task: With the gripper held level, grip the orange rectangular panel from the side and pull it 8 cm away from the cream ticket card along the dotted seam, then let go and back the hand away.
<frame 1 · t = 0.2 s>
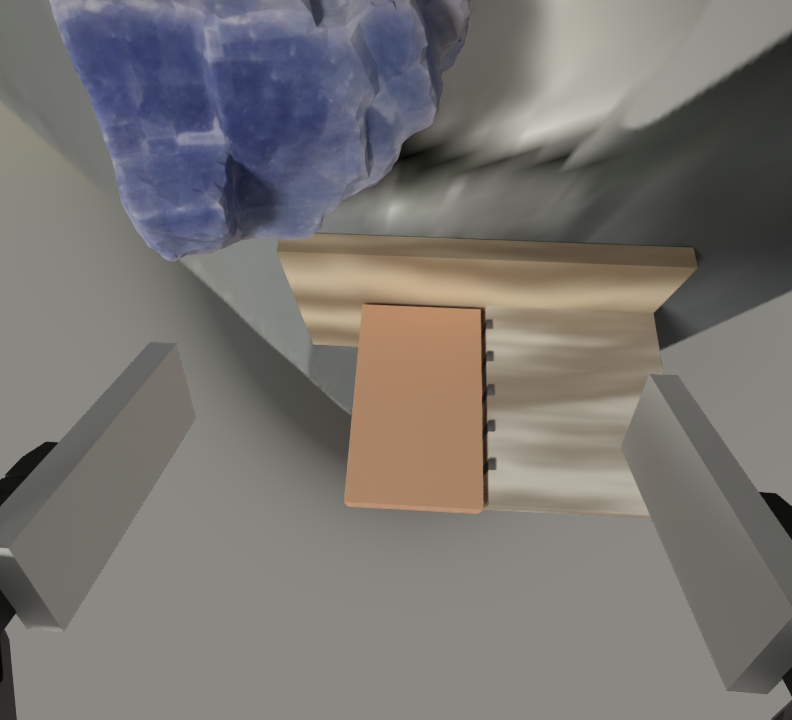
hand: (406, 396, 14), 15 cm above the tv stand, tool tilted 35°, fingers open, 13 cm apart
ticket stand: (470, 295, 38), on the tv stand
orange rectangular panel: (417, 403, 34), point 9 cm above the tv stand, slide at 0.0 cm
mineral: (279, 20, 20), on the tv stand
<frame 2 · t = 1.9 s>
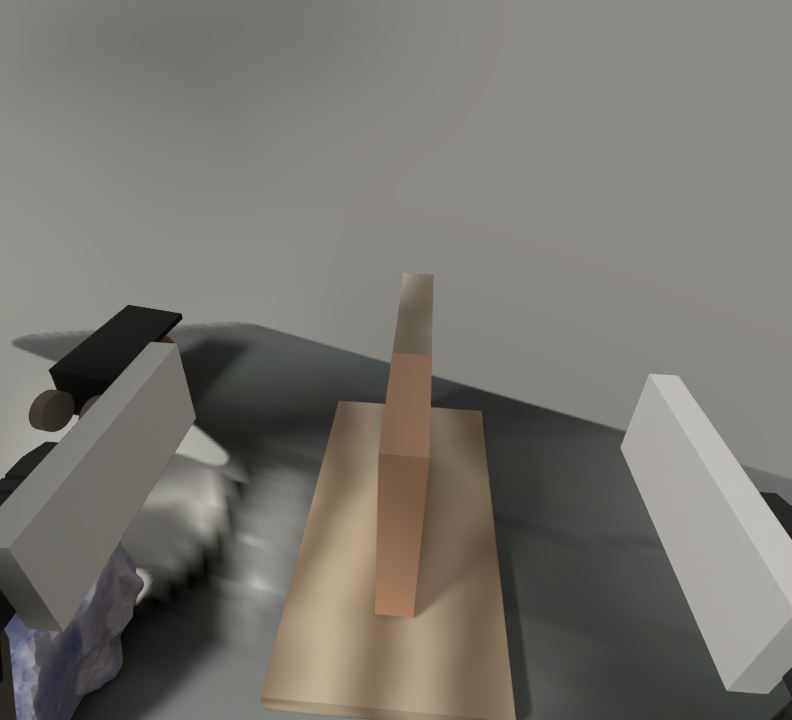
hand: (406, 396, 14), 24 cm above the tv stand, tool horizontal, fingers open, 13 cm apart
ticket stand: (400, 526, 39), on the tv stand
orange rectangular panel: (402, 486, 31), point 9 cm above the tv stand, slide at 0.0 cm
figurine character: (130, 406, 50), on the tv stand
mineral: (63, 642, 31), on the tv stand
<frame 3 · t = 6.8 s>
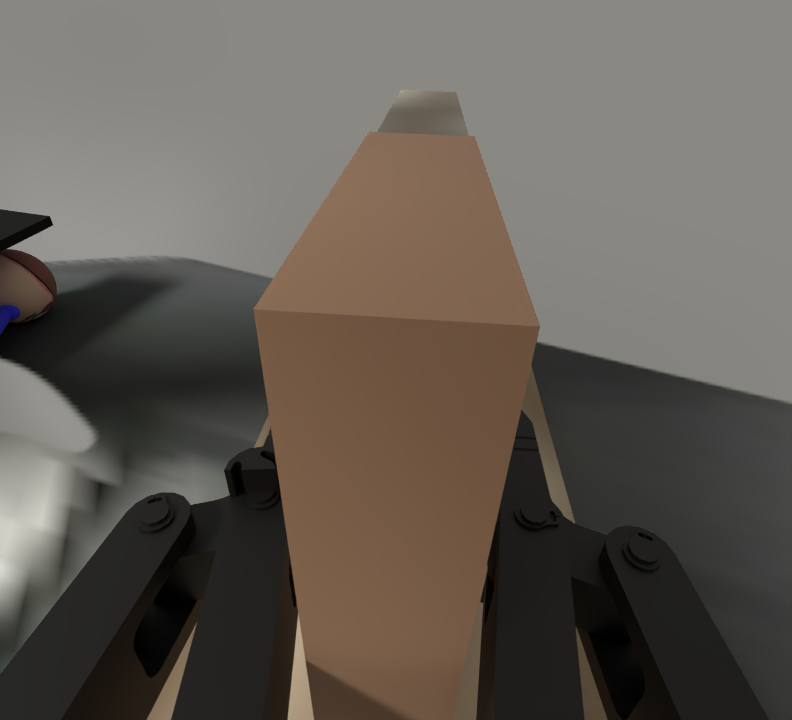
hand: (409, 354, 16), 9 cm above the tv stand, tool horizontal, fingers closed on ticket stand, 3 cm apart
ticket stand: (397, 568, 20), on the tv stand
orange rectangular panel: (399, 489, 12), point 9 cm above the tv stand, slide at 0.0 cm
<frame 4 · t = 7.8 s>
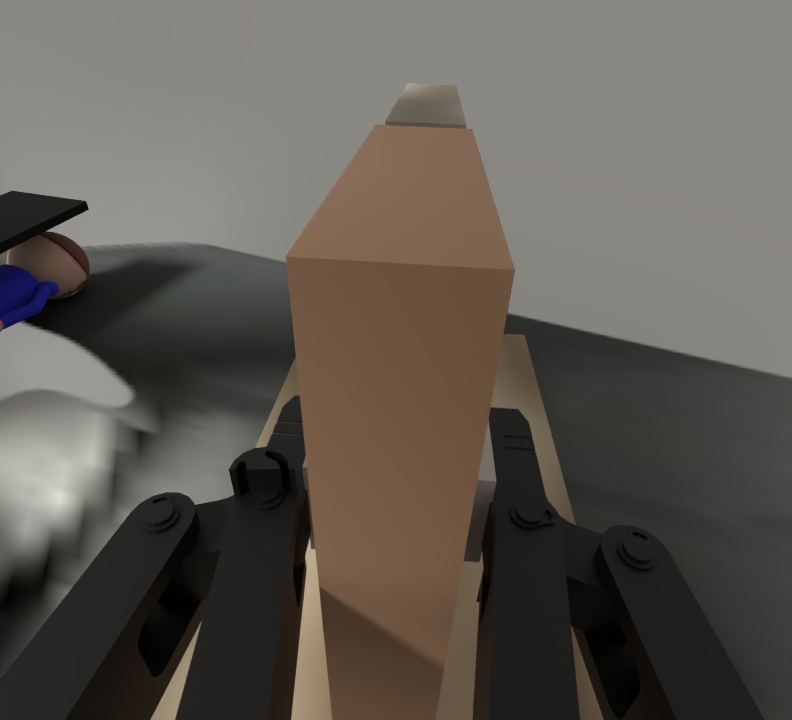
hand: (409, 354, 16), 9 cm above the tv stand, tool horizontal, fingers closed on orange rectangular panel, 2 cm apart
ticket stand: (403, 499, 23), on the tv stand
orange rectangular panel: (401, 453, 13), point 9 cm above the tv stand, slide at 2.3 cm, touching gripper
figurine character: (7, 332, 34), on the tv stand
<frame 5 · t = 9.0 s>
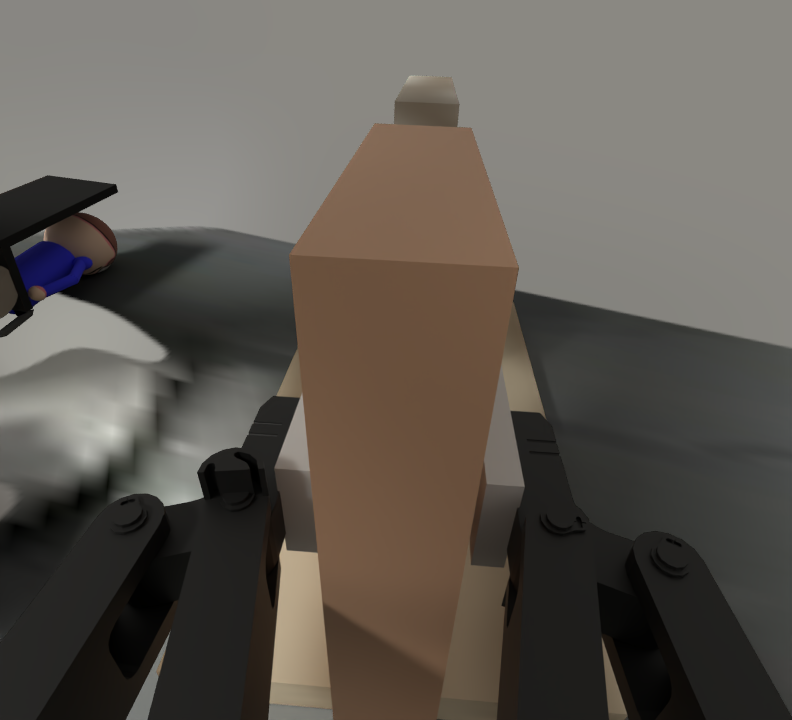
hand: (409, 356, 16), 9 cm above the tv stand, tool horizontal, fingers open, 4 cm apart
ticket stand: (407, 432, 26), on the tv stand
orange rectangular panel: (402, 452, 13), point 9 cm above the tv stand, slide at 6.8 cm
figurine character: (45, 302, 37), on the tv stand
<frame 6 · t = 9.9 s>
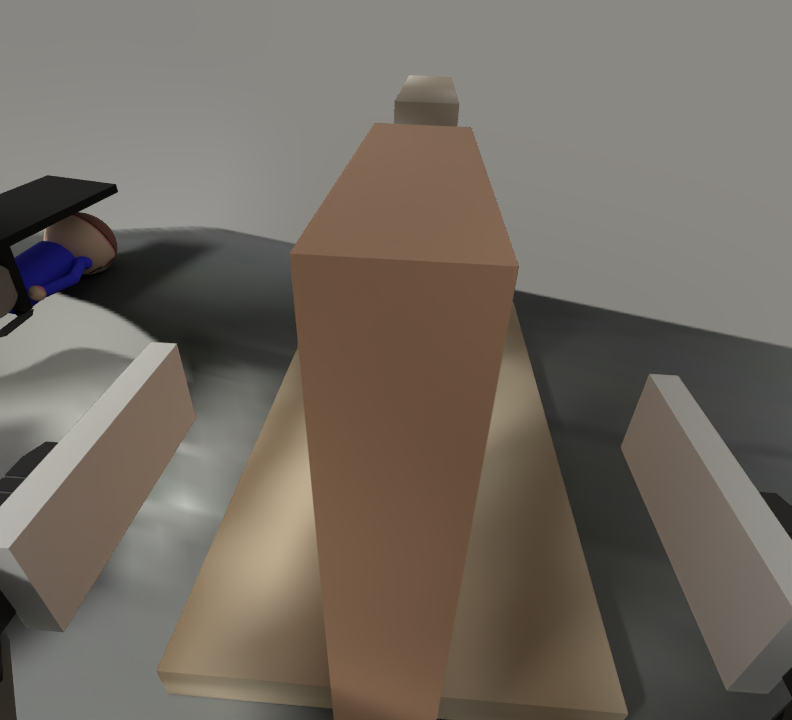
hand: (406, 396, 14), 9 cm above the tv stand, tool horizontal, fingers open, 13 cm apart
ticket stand: (407, 432, 26), on the tv stand
orange rectangular panel: (402, 452, 13), point 9 cm above the tv stand, slide at 6.8 cm
figurine character: (45, 302, 37), on the tv stand
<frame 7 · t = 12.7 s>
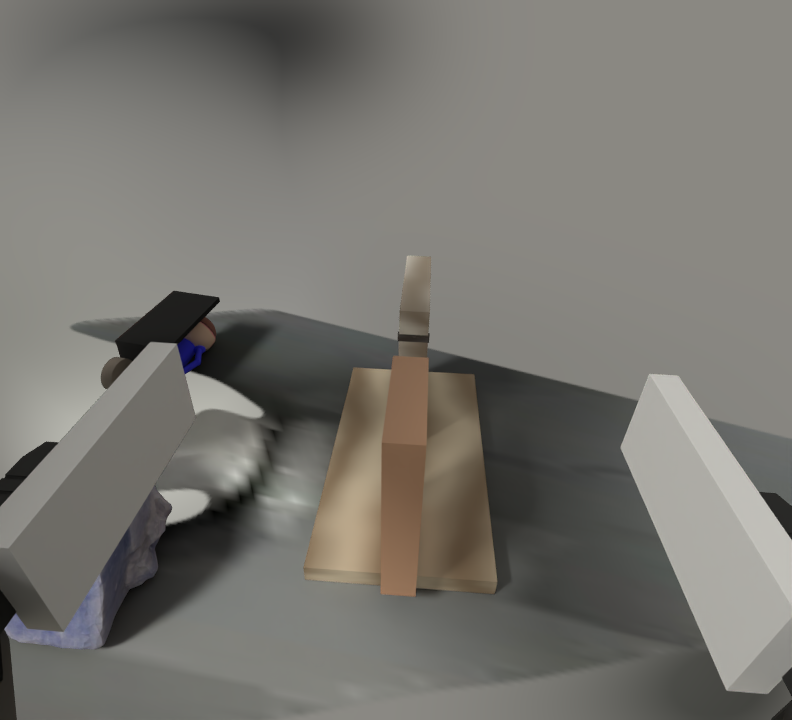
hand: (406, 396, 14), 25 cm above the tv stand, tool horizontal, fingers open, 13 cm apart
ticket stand: (407, 460, 47), on the tv stand
orange rectangular panel: (404, 476, 34), point 9 cm above the tv stand, slide at 6.8 cm
figurine character: (177, 375, 59), on the tv stand
mineral: (107, 558, 38), on the tv stand
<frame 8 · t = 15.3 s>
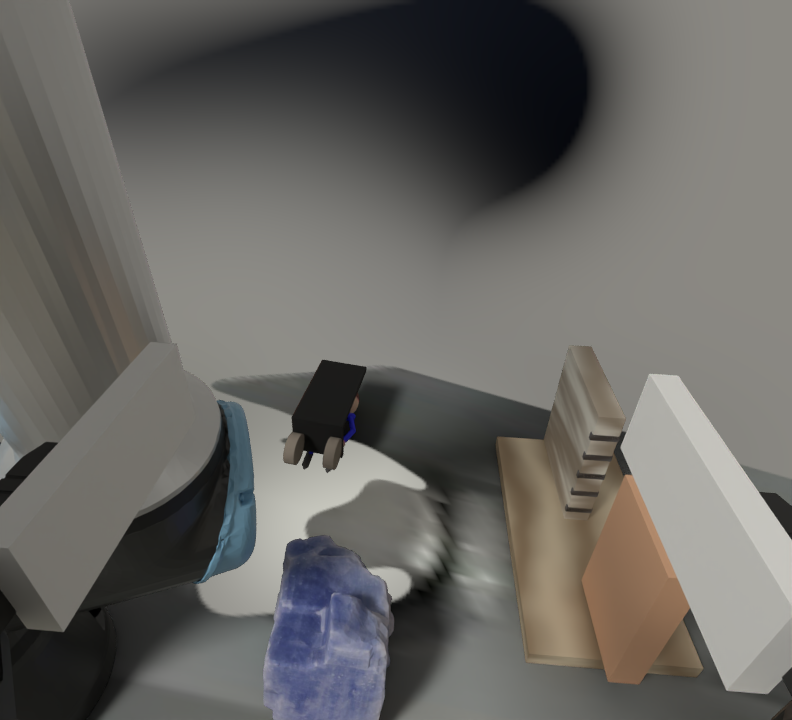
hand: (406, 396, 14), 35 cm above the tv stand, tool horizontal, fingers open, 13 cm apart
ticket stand: (574, 536, 52), on the tv stand
orange rectangular panel: (632, 580, 38), point 9 cm above the tv stand, slide at 6.8 cm
figurine character: (330, 441, 63), on the tv stand
mineral: (333, 644, 43), on the tv stand
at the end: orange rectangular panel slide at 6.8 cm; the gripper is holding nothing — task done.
